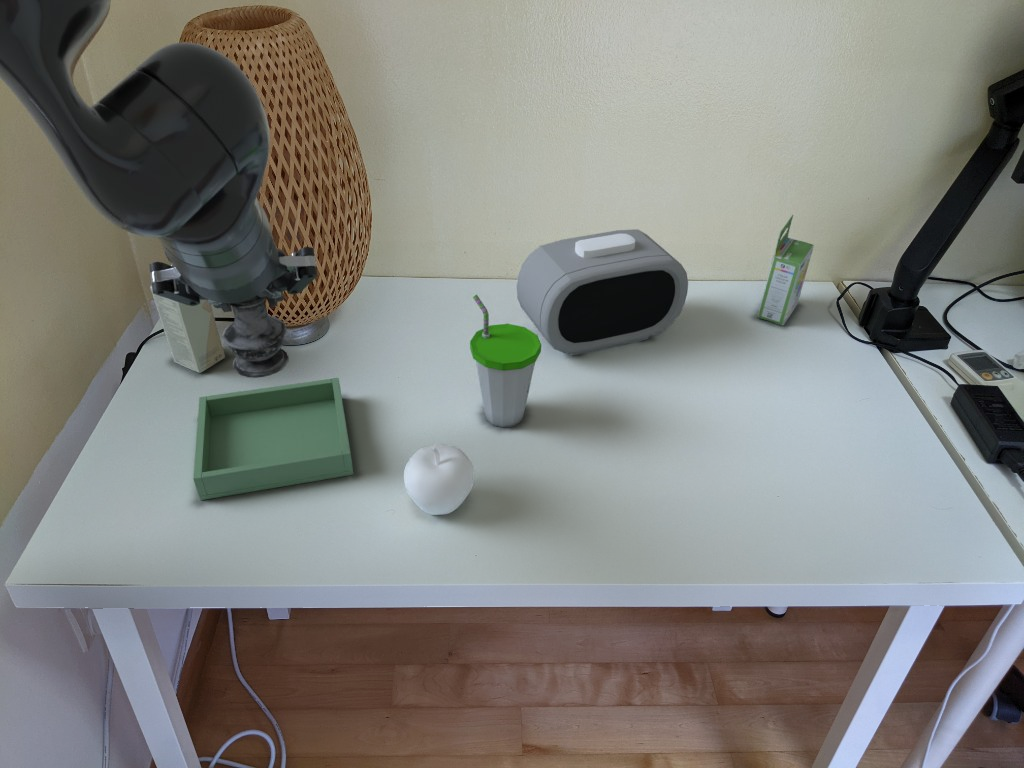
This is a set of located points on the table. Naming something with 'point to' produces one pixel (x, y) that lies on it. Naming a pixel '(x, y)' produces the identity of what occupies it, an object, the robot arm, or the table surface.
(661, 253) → the alarm clock
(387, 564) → the table surface
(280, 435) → the tray
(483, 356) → the cup
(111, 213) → the robot arm
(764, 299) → the ink box
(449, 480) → the plain white apple
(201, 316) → the box
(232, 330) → the chess piece
